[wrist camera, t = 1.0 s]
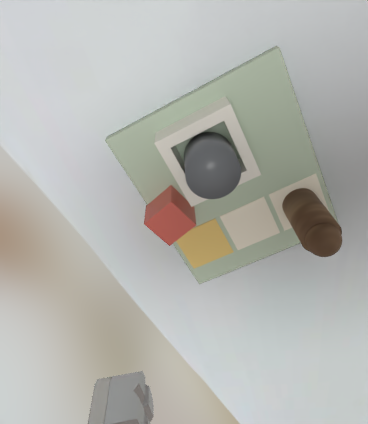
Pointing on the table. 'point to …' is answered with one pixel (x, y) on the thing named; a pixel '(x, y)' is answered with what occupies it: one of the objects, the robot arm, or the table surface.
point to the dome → (211, 166)
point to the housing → (194, 126)
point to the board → (260, 147)
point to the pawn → (312, 222)
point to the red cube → (170, 215)
